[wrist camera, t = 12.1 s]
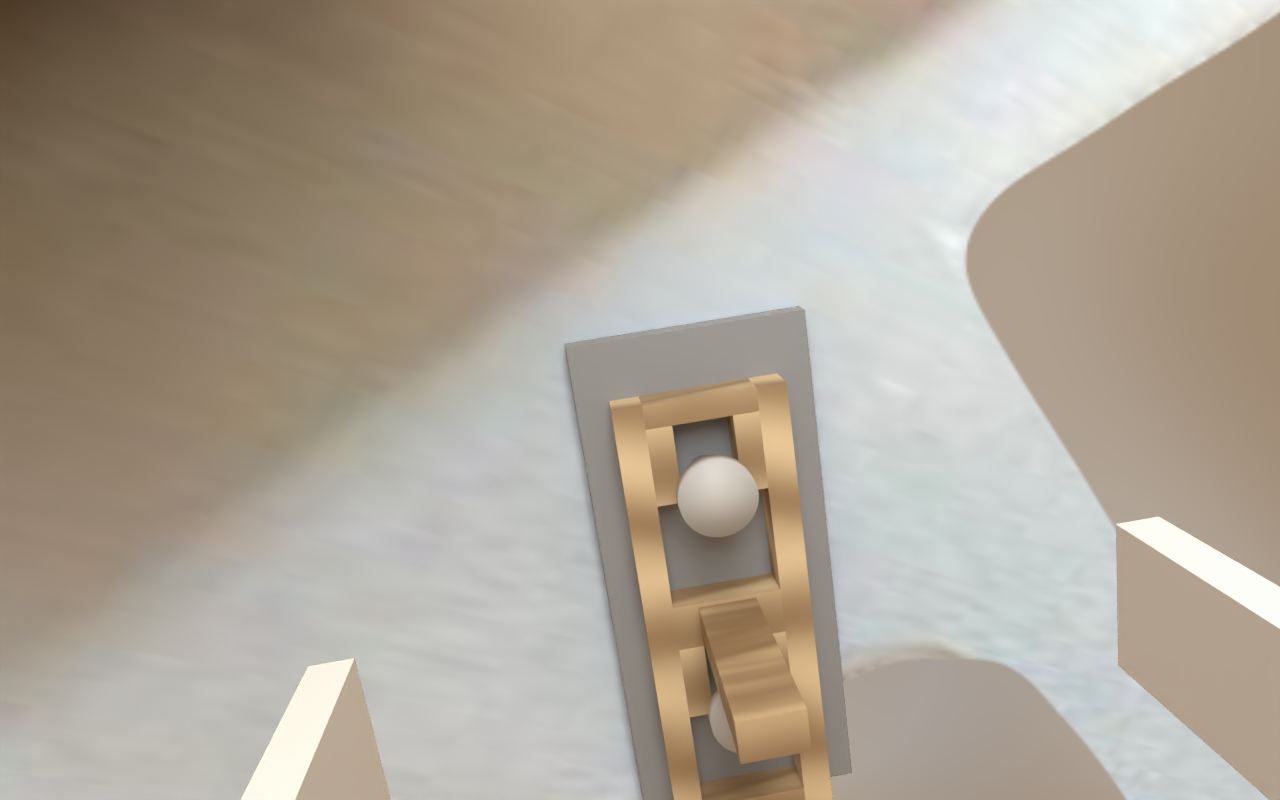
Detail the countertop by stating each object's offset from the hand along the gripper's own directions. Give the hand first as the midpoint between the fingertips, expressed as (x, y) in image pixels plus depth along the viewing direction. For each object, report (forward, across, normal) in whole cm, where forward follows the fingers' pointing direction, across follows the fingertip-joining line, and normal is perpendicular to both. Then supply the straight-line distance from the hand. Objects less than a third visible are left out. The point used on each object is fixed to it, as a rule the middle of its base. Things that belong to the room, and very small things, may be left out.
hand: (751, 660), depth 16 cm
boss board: (+32, +3, -14) cm, 35 cm away
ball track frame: (+30, +3, -15) cm, 34 cm away
